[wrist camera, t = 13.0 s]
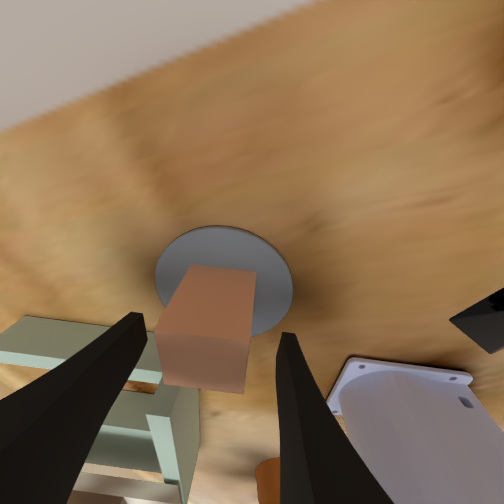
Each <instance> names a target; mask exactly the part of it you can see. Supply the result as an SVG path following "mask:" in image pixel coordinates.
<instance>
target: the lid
mask: <svg viewBox="0 0 504 504" xmlns="http://www.w3.org/2000/svg"><path fill="white" fill-rule="evenodd" d="M67 504H181V500H180V495H179V489H178V485H171V484H164V483H157V482H150V481H142V480H135V479H128V478H121V477H113V476H105V475H99V474H92V473H84V472H80V474H79V476H78V478H77V481H76V483H75V485H74V488H73V490H72V492H71V494H70V497H69V499H68V501H67Z"/></svg>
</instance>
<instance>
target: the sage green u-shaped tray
mask: <svg viewBox="0 0 504 504" xmlns="http://www.w3.org/2000/svg"><path fill="white" fill-rule="evenodd" d="M109 328H111V327H107V326H100V325H92V324H84V323H77V322H69V321H61V320H54V319H46V318H39V317H31V316H24V317H22V318H21V319H20V320H18V321H17V322H16V323H15V324H13V325H12V326H11V327H9V328H8V329H7V330H5V331H4V332H3V333H1V334H0V363H6V364H14V365H21V366H29V367H36V368H44V369H51V370H52V369H54V368H55V367H57V366H58V365H60V364H61V363H63V362H64V361H65V360H67V359H68V358H70V357H71V356H73V355H74V354H75V353H77V352H78V351H80V350H81V349H83V348H84V347H85V346H87V345H88V344H89V343H91V342H92V341H93V340H95V339H96V338H97V337H99V336H100V335H101V334H103V333H104V332H105V331H107V330H108V329H109ZM147 337H148V341H147V344H146V346H145V348H144V351H143V353H142V355H141V357H140V359H139V361H138V363H137V365H136V366H135V368H134V370H133V372H132V373H131V375H130V377H129V378H128V380H134V381H141V382H149V383H156V384H159V385H158V387H157V389H156V392H155V394H147V393H139V392H132V391H124V390H121V392H120V394H119V395H118V397H117V399H116V400H115V402H114V404H113V406H112V407H111V409H110V411H109V413H108V415H107V416H106V418H105V420H104V422H103V424H102V427H101V429H100V431H99V433H98V435H97V437H96V439H95V441H94V443H93V445H92V447H91V450H90V452H89V454H88V456H87V458H86V460H85V463H91V464H99V465H106V466H113V467H120V468H128V469H135V470H142V471H150V472H157V473H162V475H163V478H164V482H165V484H171V485H178V489H179V495H180V500H181V504H187V502H188V497H189V493H190V488H191V484H192V479H193V475H194V470H195V465H196V461H197V456H198V452H199V447H200V422H199V390H198V389H197V388H189V387H181V386H173V385H165V384H164V380H163V375H162V370H161V365H160V360H159V355H158V350H157V345H156V340H155V335H154V333H153V332H147Z"/></svg>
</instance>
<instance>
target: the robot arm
mask: <svg viewBox="0 0 504 504" xmlns="http://www.w3.org/2000/svg"><path fill="white" fill-rule="evenodd" d="M147 341H148V337H147V332H146V327H145V322H144V317H143V313H137V312H130V313H129V314H127V315H126V316H125V317H123V318H122V319H121V320H120V321H118V322H117V323H116V324H114V325H113V326H112V327H111V328H109V329H108V330H107V331H105V332H104V333H103V334H101V335H100V336H99V337H97V338H96V339H95V340H93V341H92V342H91V343H89V344H88V345H87V346H85V347H84V348H83V349H81V350H80V351H78V352H77V353H75V354H74V355H73V356H71V357H70V358H68V359H67V360H65V361H64V362H63V363H61V364H60V365H58V366H57V367H55V368H54V369H52V370H50V371H49V372H47V373H46V374H44V375H43V376H41V377H39V378H38V379H36V380H34V381H33V382H31V383H29V384H28V385H26V386H24V387H23V388H21V389H19V390H17V391H16V392H14V393H12V394H10V395H9V396H7V397H5V398H3V399H1V400H0V504H67V501H68V499H69V497H70V494H71V492H72V490H73V488H74V485H75V483H76V481H77V478H78V476H79V474H80V471H81V469H82V467H83V465H84V463H85V460H86V458H87V456H88V454H89V452H90V450H91V447H92V445H93V443H94V441H95V439H96V437H97V435H98V433H99V431H100V429H101V427H102V424H103V422H104V420H105V418H106V416H107V415H108V413H109V411H110V409H111V407H112V406H113V404H114V402H115V400H116V399H117V397H118V395H119V394H120V392H121V390H122V389H123V387H124V385H125V383H126V382H127V380H128V378H129V377H130V375H131V373H132V372H133V370H134V368H135V366H136V365H137V363H138V361H139V359H140V357H141V355H142V353H143V351H144V348H145V346H146V344H147ZM472 380H473V377H472V376H471V375H470V374H469V373H467V372H462V371H454V370H447V369H439V368H431V367H424V366H416V365H409V364H401V363H393V362H386V361H378V360H370V359H363V358H350V359H349V360H348V361H347V363H346V365H345V367H344V368H343V370H342V372H341V374H340V376H339V378H338V380H337V382H336V384H335V386H334V387H333V389H332V391H331V393H330V395H329V397H328V399H327V401H325V399H324V397H323V395H322V393H321V392H320V390H319V388H318V386H317V384H316V382H315V380H314V378H313V375H312V373H311V371H310V369H309V367H308V365H307V362H306V360H305V358H304V355H303V353H302V350H301V348H300V345H299V342H298V340H297V337H296V335H295V334H294V333H287V332H282V336H281V340H280V344H279V348H278V351H277V355H276V391H277V404H278V417H279V429H280V504H504V433H503V431H502V430H501V429H500V427H499V426H498V425H497V423H496V422H495V421H494V420H493V418H492V417H491V416H490V414H489V413H488V412H487V410H486V409H485V408H484V406H483V405H482V404H481V403H480V401H479V400H478V399H477V397H476V396H475V395H474V393H473V392H472V391H471V390H470V388H469V387H468V386H467V385H468V384H469V383H470V382H472ZM333 414H335V415H342V416H343V419H344V423H345V427H346V431H347V435H348V438H347V436H346V435H345V433H344V431H343V430H342V428H341V427H340V425H339V423H338V422H337V420H336V418H335V417H334V415H333Z"/></svg>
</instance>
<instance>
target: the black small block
mask: <svg viewBox="0 0 504 504" xmlns="http://www.w3.org/2000/svg"><path fill="white" fill-rule="evenodd" d="M449 321H450V322H451V323H453V324H454V325H455V326H456V327H457V328H459V329H460V330H461V331H462V332H463V333H465V334H466V335H467V336H468V337H470V338H471V339H472V340H473V341H474V342H476V343H477V344H478V345H479V346H480V347H482V348H483V349H484V350H485V351H487V352H488V353H489V354H493V353H495V352H497V351H500V350H502V349H504V288H502V289H500V290H499V291H497V292H495V293H493V294H492V295H490V296H488V297H486V298H485V299H483V300H481V301H479V302H478V303H476V304H474V305H472V306H471V307H469V308H467V309H466V310H464V311H462V312H460V313H459V314H457V315H455V316H453V317H452V318H450V319H449Z"/></svg>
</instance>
